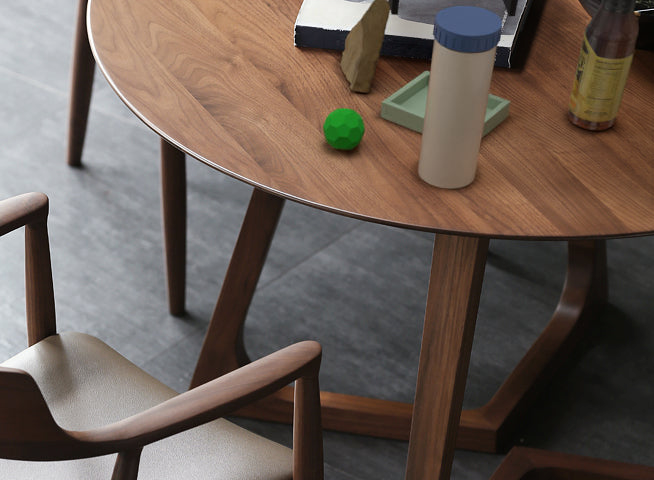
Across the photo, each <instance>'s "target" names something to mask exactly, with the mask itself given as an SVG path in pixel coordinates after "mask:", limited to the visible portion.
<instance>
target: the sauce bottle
mask: <svg viewBox="0 0 654 480" xmlns="http://www.w3.org/2000/svg"><path fill="white" fill-rule="evenodd" d="M636 2H637V0H601V3H600V5H599V7H598V8H597V10H596V12H595V13H594V14H593V16H592V17H591V19H590V21H589V23H588V24H587V25H586V27H585V29H584V33H583V39H582V42H581V45H580V46H581V47H580V51H579V55H578V62H577V65H576V69H575V74H574V78H573V82H572V87H571V92H570V96H569V101H568V118H569V121H570V122H571V123H572V124H573V125H575V126H577V127H579V128H582V129H584V130H588V131H597V132H598V131H605V130H607V129H609V128H610V127H612V126H613V125H615V123H616V121H617V117H618V114H619V113H620V108H621V105H622V100H623V97H624V93H625V89H626V85H627V82H628V78H629V74H630V71H631V70H630V69H631V66H632V63H633V58H634V54H635V50H636V43H637V39H638V36H639V29H640V28H639V21H638V18H637V15H636V13H635V10H634V9H635V7H636V5H637V3H636Z"/></svg>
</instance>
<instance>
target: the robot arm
mask: <svg viewBox="0 0 654 480" xmlns="http://www.w3.org/2000/svg"><path fill="white" fill-rule="evenodd" d="M388 2H389V5H390V15H391V16H398V15H399V5H400V0H388ZM502 2H503V5H504V9H505V10H506V13H507V15H508V17H516V13H517V7H518V2H519V0H502Z"/></svg>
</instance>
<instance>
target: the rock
mask: <svg viewBox="0 0 654 480" xmlns="http://www.w3.org/2000/svg"><path fill="white" fill-rule="evenodd" d="M390 14H391V10H390V5H389V0H373V1H372V2H371V4H370V5H369V7H368V8H367V10H366V11H365V12H364V13H363V15H362V17H361V18H360V19H359V20H358V21H357V23H356V24H355V25H354V26H353V27H352V28H351V29H350V31H349V33H348V34H347V36H346V38H345V42H344V50H343V51H342V52H341V55H342V57H341V60H340V63H339V66H340V67H341V71H342V72H343V74H344V76H345V77H346V80H347V81H348V82H349V83H350V85H349V89H350V90H351V91H353V92H358V93H365V94H367V93H369V92H370V89H371V86H372V82H373V81H374V77H375V74H376V70H377V65H378V62H379V58H380V54H381V50H382V47H383V43H384V38H385V35H386V34H385V33H386V29H387V24H388V21H389V18H390Z"/></svg>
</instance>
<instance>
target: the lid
mask: <svg viewBox="0 0 654 480" xmlns="http://www.w3.org/2000/svg"><path fill="white" fill-rule="evenodd" d="M432 29H433V30H432V35H433V40H434V39H435V40H436V41H437V42H438V43H439V44H441V45H443V46H445V47H447V48H450V49H452V50H457V51H462V52H481V51H486V50H489V49H492V48H494V47H495V46H496V45H497V46H498V45H499V43H500V42H501V38H502V32H503V31H502V30H503V20H502V19H501V17H500V16H499V15H498V14H496V13H495V12H493V11H491V10H489V9H486V8H483V7H479V6H474V5H473V6H472V5H455V6H449V7H446V8H443V9H441V10H440V11H438V12H437V13H436V15H435V18H434V23H433V28H432Z"/></svg>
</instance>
